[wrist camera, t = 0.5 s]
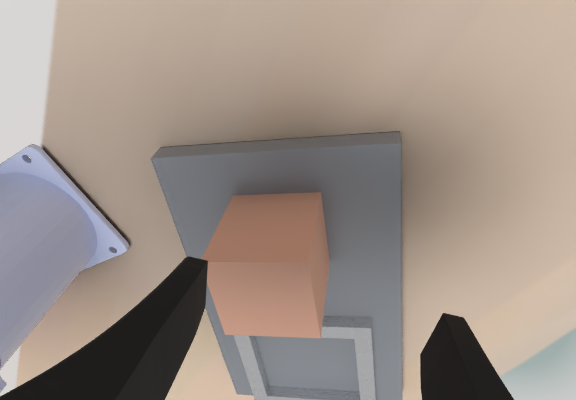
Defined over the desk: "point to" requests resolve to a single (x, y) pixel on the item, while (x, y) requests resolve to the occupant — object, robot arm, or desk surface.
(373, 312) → the board
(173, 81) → the desk surface
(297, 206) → the block
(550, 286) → the desk surface
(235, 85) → the desk surface
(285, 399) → the locating frame
